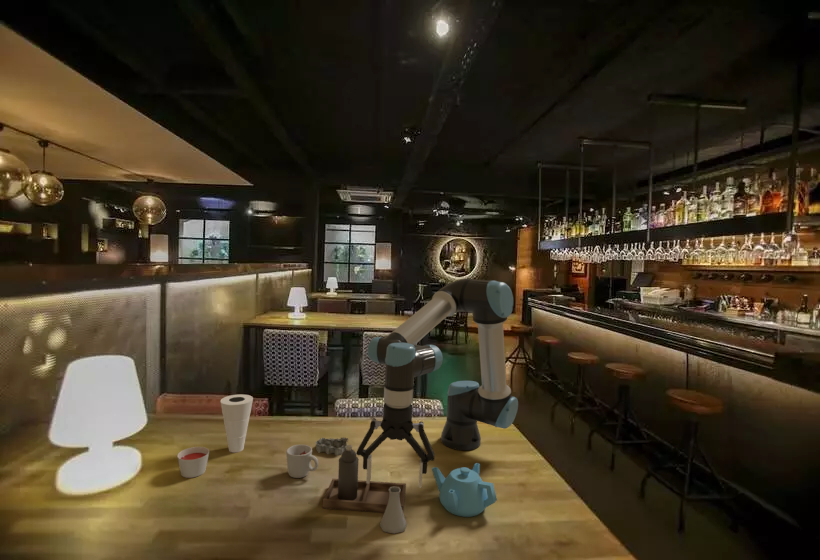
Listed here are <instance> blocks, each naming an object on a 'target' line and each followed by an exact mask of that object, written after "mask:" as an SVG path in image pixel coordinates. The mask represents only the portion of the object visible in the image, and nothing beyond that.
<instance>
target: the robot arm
mask: <svg viewBox="0 0 820 560" xmlns="http://www.w3.org/2000/svg"><path fill="white" fill-rule="evenodd" d="M513 307H514V295H513V292H512V289H511V287H510V286H509V285H508V284H507V283H506V282H503V281H497V280H487V279H475V278H474V279H473V278H461V279H458V280H455V281H452V282H450V283H447V284H446V285H444V286H443V287H441V288H440V289H439V290H437V291H436V292H435V293H434V294H433V295H432V297H431V300H429V301H428V302H427V303H426V304H425V305H423V306H422V307H421V308H420V309H418V310H417V311H416V312H415V313H414V314H412V315H411V316H410V317H408V319H406V320H405V321H404V322H403V323H401V324H400V325H399V326H398V327H396V329H394V330H393V331H392V332H390V333H389V334H388V335H387V336H385V337H383V336H377V337H373V338H371V340H370V341H369V343H368V345H367V350H366V351H367V356H368V358H369V360H370V361H371V362H374V363H377V364H378V365H384V366H385V367H384V368H385V371H384V375H385V376H384V377H385V378H384V387H383V402H384V403H383V408H382V409H383V410H382V411H383V413H382V420H378V419H376V418H375V417H373V418H372V419H371V422H370V423H369V424H370V425H369V428H368V430H367V432H366V434H365V436H364V437H363V439H362V440H361V442H360V444H359V446H358V447H357V450H356V452H355V453H356V456H361V457H362V459H363V460H362V468H363V470H366V479H365V481H366V483H368V484H369V482H370V481H371V478H372V477H371V476H372V455H373V452H374V451H375V450H376V449H377V448H379V446H380V445H381V444H382V443H383V442H385V441H386V439H390V441H391V440H397V441H403V440H405V441H406V443H408V444H409V445H410V448H411V449H413V451H414V452H415V453H416V454H417V456H418V457H419V469H418V470H419V471H418V472H419V475H418V488H422V485H423V484H422V483H423V481H422V480H423V475H426V474H428V473H427V472H428V462H430V461H432V462H433V461H434V460H435V452H434V450H433V447H432V445H431V443H430V441H429V439H428V436H427V433H426V431H425V428H424V422H423V421H419V422H416V423H414V422H413V402H414V384H415V383H414V382H415V381H414V380H415V378H417V377H419V376H424V375H426V374H431V373H433V372H435V371H437V370H438V369H440V368H441V366H442V364H443V360H444V358H443V353H442V351H441V349H440V348H439V347H438V346H436V345H434V344H424V345H419V344H418V343H419V342H420V341H421V340H422V339H423V338H424V337H425V336H426V335H428V333H430V332H431V331H432V330H433V329H434V328H435V327H436V326H438V325H439V324H440V323H441V322H442V321H443V320H444V319H445V318H447V317H451V316H454V314H455V313H458V312H459V313H460V312H463V313H464V312H465V313H469V314H472V321H473V323H474V324H476V325H477V331H478V335H477V337H478V349H479V361H480V375H481V385H480V384H479V382H478V381H476V380H475V381H473V380H457V381H453V382H451V383H450V384H449V385H448V389H447V394H446V395H447V401H446V402H447V404H446V421H445V424H444V426H443V428H442V431H441V435H440V441H441V443H442V444H443V445H444V446H446V447H447V448H449V449H452V450H457V451H471V450H475V449H478V448H479V447H481V444H482V443H481V442H482V441H481V440H482V437H481V433H480V430H479V426H478V422H480V423H484V424H485V425H486V424H487V425H490V426H493V427H495V428H500V429H504V430H505V429H507V428H510V427H511V425H513V423H514V421H515V418H516V416H517V413H518V408H519V401H518V398H517V397H515V396H512V389H511V387H510V386H509V385H508V384H507V374H506V373H507V371H506V353H505V352H506V351H505V339H504V338H505V336H504V334H505V333H504V324H505V323H506V322H507V321H508V318H509V317H510V315H512V312H513ZM379 427H381V430H382V432H381V433H380V434H379V436H377V438H376V439H375V440H374V441H373V442H371V444H370V445H369V446H368V447H367V448H366V446H367V444H368V442H369V440H370V439H371V437H372V436H373V434H374V431H375V430H377V429H378V428H379ZM413 429H414V430H415V431H416V432H417V433H418V434H419V438H420V440H421V442H422V444H423V447H424V449H423V448H422V446H421V445H420V444H419V442H418V441H417V440H416V438H415V437H414V436H413V434H412V433H411V432H412V431H413Z"/></svg>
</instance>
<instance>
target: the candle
mask: <svg viewBox="0 0 820 560" xmlns="http://www.w3.org/2000/svg"><path fill="white" fill-rule="evenodd" d="M209 455H210V449H209V448H207V447H205V446H193V447H188V448H184V449H182V450H181V451H180V452H178V453H177V462H178V465H179V466H178V467H179V471H180V475H181V477H183V478H187V479H191V478H197V477H200V476H202V475H203V474H205V472H206V469H207V465H208V460H209Z"/></svg>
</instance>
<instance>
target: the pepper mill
mask: <svg viewBox="0 0 820 560" xmlns="http://www.w3.org/2000/svg"><path fill="white" fill-rule="evenodd" d="M356 453H357V452H356V451H355V450H354V449H353V445H352V444H347V446H346V450H344V451H343V453H342V455H340V457H339V458H338V478H337V479H338V499H339V500H351V501H353V500H355V499H356V498H357V488H358V480H359V456H358V455H357V454H356Z"/></svg>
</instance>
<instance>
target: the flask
mask: <svg viewBox="0 0 820 560" xmlns="http://www.w3.org/2000/svg"><path fill="white" fill-rule="evenodd" d="M400 491H401V489H400V488H399V487H396V486H393V487H390V488H389V492H390V494H389V501H388V505H387V507H386V510H385V513H383V516H382V518H381V520H380V523H379V527H380V529H381V530H382V532H383V533H384V532H385V533H389V534H397V533H403V532H405V530H406V527H407V525H408V524H407V521H406V517H405V515H404V510H403V511H402V507H401V504H400V498H399V493H400Z"/></svg>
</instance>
